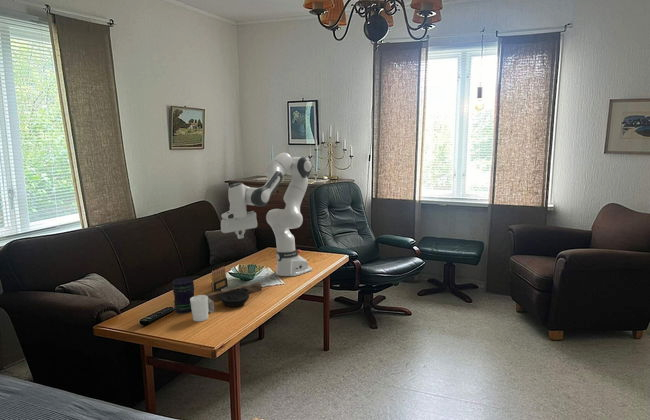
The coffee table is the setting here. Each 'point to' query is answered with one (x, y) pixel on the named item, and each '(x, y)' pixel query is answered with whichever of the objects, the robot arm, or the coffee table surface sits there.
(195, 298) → the white cup
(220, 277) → the ammunition clip
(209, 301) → the bracket
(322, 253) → the coffee table surface
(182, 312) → the storage jar
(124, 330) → the coffee table surface
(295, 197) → the robot arm
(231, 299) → the oil lamp
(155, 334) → the coffee table surface
